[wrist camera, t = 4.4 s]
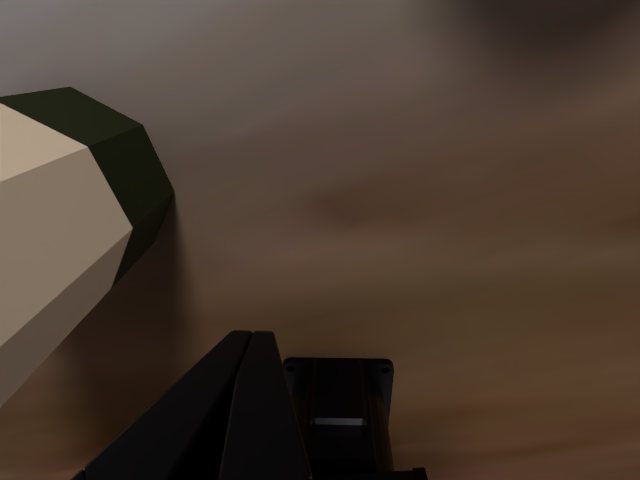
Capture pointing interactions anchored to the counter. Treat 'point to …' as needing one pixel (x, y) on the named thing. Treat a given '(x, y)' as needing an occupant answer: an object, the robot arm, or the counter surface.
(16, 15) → the counter surface
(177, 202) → the counter surface
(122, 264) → the wine bottle
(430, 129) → the counter surface
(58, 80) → the counter surface
